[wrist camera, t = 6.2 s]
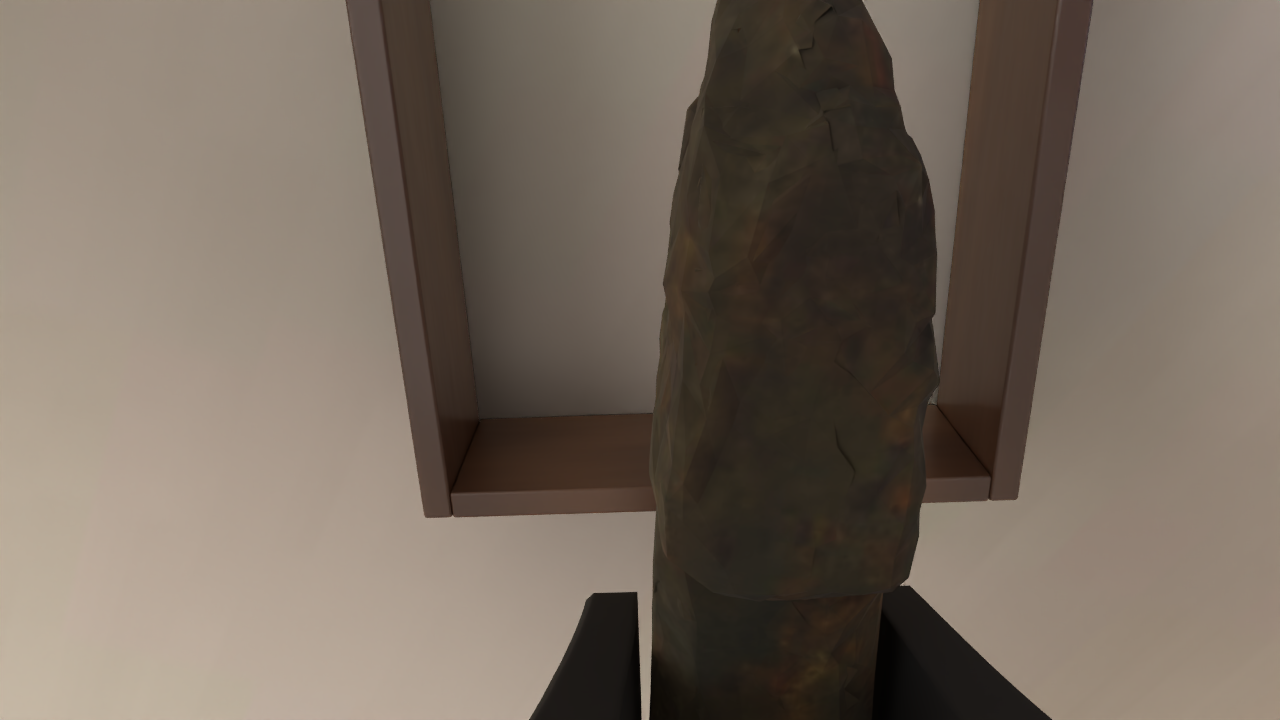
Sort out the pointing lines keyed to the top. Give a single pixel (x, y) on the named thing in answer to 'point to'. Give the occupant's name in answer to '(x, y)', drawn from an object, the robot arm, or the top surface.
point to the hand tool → (789, 370)
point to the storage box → (620, 444)
